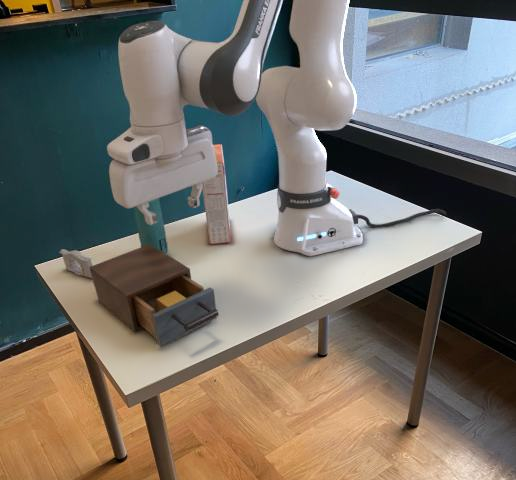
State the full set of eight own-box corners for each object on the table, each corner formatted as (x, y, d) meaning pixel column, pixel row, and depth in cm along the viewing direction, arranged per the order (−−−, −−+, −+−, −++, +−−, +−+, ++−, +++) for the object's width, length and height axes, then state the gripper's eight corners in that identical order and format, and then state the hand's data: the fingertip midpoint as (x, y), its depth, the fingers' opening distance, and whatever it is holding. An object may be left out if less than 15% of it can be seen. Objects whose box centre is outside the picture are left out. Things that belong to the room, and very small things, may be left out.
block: (178, 308, 105) (175, 290, 102) (190, 317, 102) (187, 299, 99) (159, 317, 102) (156, 298, 100) (172, 326, 100) (168, 307, 97)
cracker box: (207, 222, 142) (199, 144, 129) (229, 220, 142) (223, 143, 129) (207, 245, 131) (198, 162, 118) (231, 243, 131) (224, 161, 118)
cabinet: (194, 303, 109) (189, 268, 104) (135, 332, 102) (126, 295, 97) (155, 277, 119) (149, 243, 114) (98, 301, 112) (89, 267, 106)
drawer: (234, 329, 100) (231, 300, 96) (177, 360, 93) (171, 330, 89) (176, 291, 112) (172, 263, 108) (122, 315, 105) (115, 287, 101)
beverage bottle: (164, 265, 123) (150, 183, 111) (138, 263, 125) (122, 182, 112) (173, 252, 128) (161, 173, 116) (148, 251, 130) (133, 172, 117)
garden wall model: (105, 279, 119) (100, 256, 115) (100, 283, 118) (94, 260, 114) (70, 267, 124) (63, 245, 121) (64, 270, 123) (57, 248, 120)
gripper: (199, 119, 93) (208, 193, 101) (97, 149, 83) (117, 227, 91) (220, 126, 89) (228, 201, 98) (116, 157, 79) (135, 238, 88)
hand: (173, 214), depth 94 cm, fingers open, 8 cm apart
